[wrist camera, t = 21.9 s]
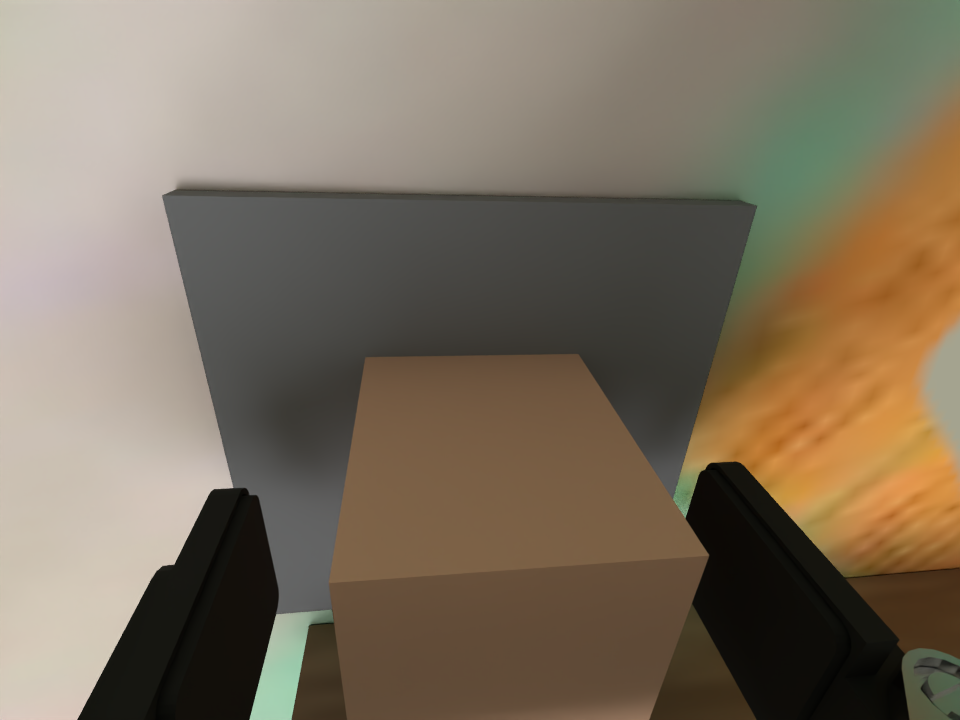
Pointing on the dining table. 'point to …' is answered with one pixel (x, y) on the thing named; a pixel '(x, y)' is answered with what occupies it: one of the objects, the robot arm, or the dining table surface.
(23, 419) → the dining table surface
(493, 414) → the terracotta block
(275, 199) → the rubber mat
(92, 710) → the robot arm
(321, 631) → the wooden shelf frame
